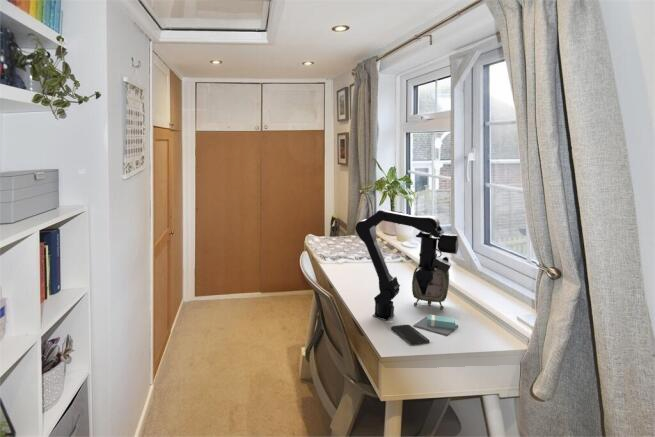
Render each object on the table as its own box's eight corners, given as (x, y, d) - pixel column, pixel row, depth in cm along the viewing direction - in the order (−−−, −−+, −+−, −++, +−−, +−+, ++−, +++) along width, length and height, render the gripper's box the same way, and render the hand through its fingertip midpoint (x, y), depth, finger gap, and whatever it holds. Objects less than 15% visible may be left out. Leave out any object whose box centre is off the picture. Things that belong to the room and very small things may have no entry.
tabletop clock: (410, 307, 189) (414, 248, 185) (412, 300, 198) (416, 244, 194) (446, 312, 185) (451, 252, 181) (447, 304, 193) (452, 247, 189)
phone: (408, 324, 169) (430, 341, 155) (408, 327, 169) (430, 344, 155) (389, 326, 166) (410, 343, 152) (389, 329, 166) (410, 346, 153)
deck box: (427, 319, 168) (455, 322, 166) (428, 314, 173) (455, 317, 171) (427, 325, 169) (454, 329, 166) (427, 320, 174) (454, 324, 171)
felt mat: (413, 326, 169) (413, 325, 169) (425, 317, 178) (425, 316, 178) (447, 335, 162) (447, 334, 161) (458, 326, 170) (458, 325, 170)
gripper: (449, 258, 156) (445, 302, 159) (452, 247, 174) (448, 286, 176) (416, 254, 159) (413, 297, 162) (422, 244, 177) (419, 282, 179)
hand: (424, 290), depth 170 cm, fingers open, 9 cm apart
